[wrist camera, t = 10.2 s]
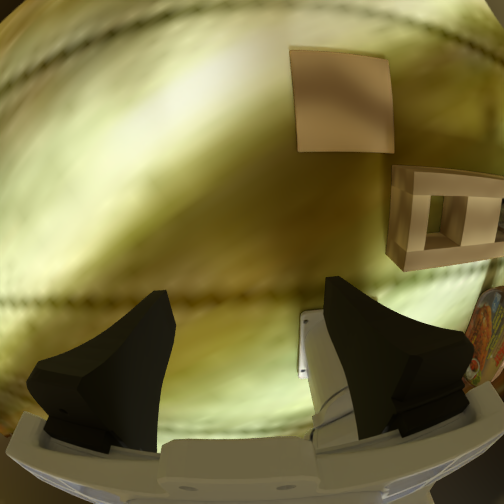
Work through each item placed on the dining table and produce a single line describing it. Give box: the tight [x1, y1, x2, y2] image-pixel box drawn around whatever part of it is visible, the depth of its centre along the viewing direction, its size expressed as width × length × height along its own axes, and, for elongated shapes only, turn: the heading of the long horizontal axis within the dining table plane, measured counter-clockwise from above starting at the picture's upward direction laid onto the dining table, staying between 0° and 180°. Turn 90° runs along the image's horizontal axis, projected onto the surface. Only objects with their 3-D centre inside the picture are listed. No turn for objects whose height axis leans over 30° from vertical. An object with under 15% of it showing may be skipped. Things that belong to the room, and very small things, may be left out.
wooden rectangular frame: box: [386, 165, 504, 272], centre depth 20 cm, size 8×18×4 cm, turn 94°
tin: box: [463, 286, 504, 388], centre depth 24 cm, size 15×3×8 cm, turn 5°
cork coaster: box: [290, 50, 394, 153], centre depth 18 cm, size 8×8×1 cm
